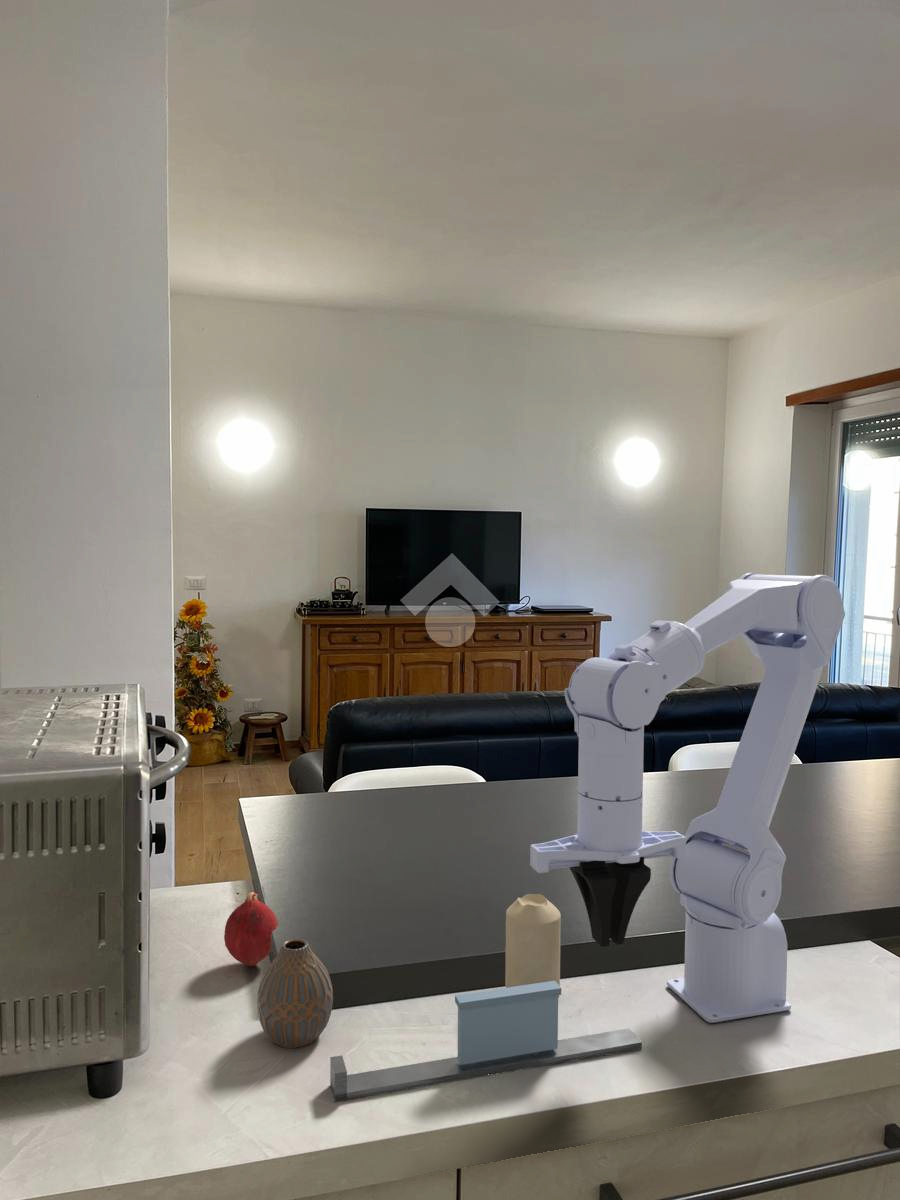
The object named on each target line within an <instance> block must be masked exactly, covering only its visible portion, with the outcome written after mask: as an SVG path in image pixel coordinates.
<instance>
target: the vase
mask: <svg viewBox="0 0 900 1200" xmlns="http://www.w3.org/2000/svg"><path fill="white" fill-rule="evenodd" d="M260 979H261V980H260V982H259V985H258V991H257V998H256V999H257V1000H256V1005H257V1007H256V1008H257V1015H258V1019H259V1020H258V1021H259V1022H260V1026H261V1028H262V1030H263V1031H264V1034H265V1035H266V1036H267V1037H268V1038H269V1039H270V1040H271V1041H272V1042H273V1043H275V1044H276V1045H278V1046H280V1047H283V1048H288V1049H289V1048H290V1049H295V1048H302V1047H305V1046H307V1045H310V1044H311V1043H313V1042H314V1041H315V1040H317V1038H318V1037H320V1036H321V1034H322V1033H323V1032H324V1031H325V1029H326V1028H327V1025H328V1023H329V1022H330V1021H329V1020H330V1018H331V1014H332V1011H333V1005H334V1004H333V1002H334V994H333V993H334V991H333V984H332V981H331V978H330V974H329V971H328V969H327V968H326V966H325V964H323V962H322V961H321V960H320V958H319V957H318V956H317V955H316V954H315V953H314V952H313V950H312V949H311V946H310V944H309V942H308V941H307V940H306V939H303V938H293V939H287V940H285V941H284V942H283V943H282V945H281V946H280V949H279V952H278V953H277V954H276V956H275V957H274V959H273V960H272V961H271V962H270V964H269V965H268V966H267V968H266V969H265V970H264V973H263V975H262V976H261V978H260Z"/></svg>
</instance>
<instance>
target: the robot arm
mask: <svg viewBox="0 0 900 1200" xmlns="http://www.w3.org/2000/svg"><path fill="white" fill-rule="evenodd" d="M842 598H843V597H842V594H841V591H840V589H839V587H838V585H837V583H836V581H835V580H834V579H833V578H832V577H831V576H828V575H827V574H816V575H793V574H791V575H790V574H789V575H786V574H785V575H784V574H783V575H782V574H760V573H757V572H747V573H744V574H743V575H741V576H740V577H739V578H737V579H734V580H732V581H730V582H729V583H728V585H727V590H726V592H725V593H724V594H722V596H720V597H718V598H717V599H715V600H714V601H713V602H712V603H710V604H709V605H707V606H706V607H705V608H704V609H702V610H701V611H700V612H698V613H697V614H696V615H694V616H693V617H691V618H690V619H689V620H687V621H686V622H685V623H681V622H679V621H675V620H659V619H658V620H654V622H652V623H650V624H649V630H648V632H645V634H642V635H641V636H639V637H638V638H636V639H634V640H632V641H631V642H629V643H627V644H626V643H622V644H619V645H617V646H616V647H615V649H614V652H612V653H611V654H610V655H609V656H608V657H607V658H606V657H605V658H603V657H596V656H595V657H590V658H588V659H585V661H583V662H582V663H581V664H580V665H579V666H577V667H576V668H575V670H574V671H573V672H572V674H571V677H570V680H569V683H568V687H567V688H566V687H565V688H564V697H565V702H566V706H567V708H568V709H569V711H570V712H571V714H572V716H573V718H574V719H573V720H574V732H575V733H576V735H577V737H578V759H577V760H578V766H577V767H578V768H577V770H578V772H577V773H578V774H577V780H578V781H577V790H578V791H577V833H576V834H574V835H570V836H566V837H562V838H558V839H553V840H550V841H546V842H541V843H540V842H539V843H534V844H529V845H530V847H529V848H530V849H529V851H530V855H529V856H530V858H529V866H530V867H532V869H533V870H534V871H535V872H537V873H538V874H545V873H549V872H550V870H554V869H562V868H565V869H566V868H569V870H570V871H571V873H572V876H573V878H574V879H575V882H576V884H577V886H578V889H579V891H580V895H581V897H582V899H583V902H584V905H585V909H586V912H587V916H588V921H589V925H590V931H591V937H592V939H593V940H594V941H595V942H596V943H597V944H598V945H599V946H600V947H609V946H610V941H611V940H612V942H613V943H614V944H615V945H618V946H619V945H624V944H625V939H626V934H627V931H628V926H629V924H630V920H631V917H632V915H633V912H634V910H635V907H636V905H637V902H638V901H639V899H640V897H641V895H642V893H643V892H644V890H645V888H646V887H647V885H648V884H649V883H650V881H651V877H652V869H651V867H649V866H648V865H646V864H645V860H649V859H650V860H651V859H659V858H668V857H670V859H669V866H668V876H669V881H670V884H671V887H672V888H673V890H675V892H677V893H678V894H679V895H680V897H679V900H680V901H679V904H680V905H681V906H682V907H684V908H685V922H684V923H685V928H684V930H685V934H684V935H685V936H684V937H685V939H684V977H677V978H672V979H671V978H670V979H668V980H667V981H666V986H668V987H669V989H670V990H672V991H673V992H674V993H675V994H676V996H678V997H680V998H681V1000H683V1001H684V1002H685V1003H686V1004H687V1005H688V1006H689V1008H691V1009H693V1011H695V1013H697V1014H698V1015H699V1016H700V1017H701V1018H702V1019H703V1020H704V1021H705V1022H706V1023H711V1024H713V1023H714V1024H715V1023H720V1022H726V1021H732V1020H737V1019H744V1018H749V1017H755V1016H762V1015H767V1014H773V1013H779V1012H785V1011H786V1012H787V1011H790V1010H791V1009H792V1004H791V1003H790V1002H788V1001H787V977H788V976H787V971H788V941H787V939H788V938H787V934H786V932H785V931H786V930H785V928H784V925H783V923H782V921H781V919H780V918H779V916H778V915H777V914H776V913H775V911H776V909H777V907H778V905H779V903H780V900H781V897H782V889H783V888H782V877H783V870H784V867H785V863H786V861H787V856H786V854H785V852H784V851H783V849H782V847H781V845H780V844H779V843H778V841H777V839H776V838H775V837H774V835H773V834H772V832H771V830H770V825H771V823H772V819H773V817H774V814H775V812H776V809H777V805H778V801H779V799H780V797H781V793H782V791H783V787H784V785H785V782H786V778H787V776H788V773H789V770H790V767H791V765H792V762H793V758H794V755H795V752H796V750H797V746H798V744H799V740H800V738H801V735H802V733H803V732H802V731H803V729H804V725H805V724H806V719H807V717H808V715H809V712H810V709H811V706H812V703H813V700H814V697H815V694H816V691H817V688H818V685H819V683H820V679H821V676H822V672H823V668H824V667H825V666H826V665H828V664H829V663H830V660H831V658H832V654H833V652H834V649H835V646H836V643H837V639H838V637H839V634H840V631H841V628H842V625H843V622H844V619H845V616H846V612H845V607H844V604H843V603H844V602H843V599H842ZM739 636H742V638H743V639H744V641H745V643H746V645H747V646H748V648H749V650H750V651H751V653H752V654H753V656H755V657H756V658H758V659H759V660H760V661H761V662H762V665H763V667H764V673H763V676H762V678H761V681H760V684H759V687H758V689H757V692H756V696H755V698H754V701H753V704H752V706H751V710H750V713H749V715H748V718H747V720H746V724H745V726H744V729H743V732H742V735H741V737H740V740H739V742H738V746H737V747H736V748H737V749H736V751H735V755H734V756H733V760H732V762H731V765H730V769H729V771H728V773H727V777H726V779H725V783H724V785H723V788H722V790H721V793H720V796H719V799H718V802H717V805H716V807H715V808H713V809H712V810H710V811H708V812H706V813H704V814H701V815H699V816H697V817H694V818H693V819H691V821H690V823H689V825H688V828H687V831H686V832H685V834H684V835H683V834H681V833H679V832H678V831H676V830H670V831H669V830H667V831H666V830H665V831H654V830H653V831H650V830H649V831H648V830H644V831H643V804H644V803H643V799H644V798H643V797H644V795H643V794H644V793H643V792H644V753H645V752H644V751H645V750H644V744H645V743H644V742H645V740H644V739H645V733H644V732H645V726H648V725H650V723H651V722H652V721H653V720H654V718H655V716H656V714H657V713H658V710H659V707H660V704H661V702H663V701H664V700H666V696H667V695H668V694H670V693H672V692H673V691H675V690H676V689H677V688H679V687H681V686H682V685H684V684H685V683H687V682H688V681H689V680H691V679H692V678H694V677H695V676H697V675H698V674H699V673H700V672H701V671H702V670H703V668H704V667H705V662H706V655H707V654H708V653H711V652H712V651H714V650H715V649H718V648H719V647H721V646H723V645H725V644H727V643H728V642H730V641H732V640H734V639H736V638H738V637H739ZM725 845H730V846H733V847H736V848H739V849H742V850H744V851H748V853H745V852H742V851H740V850H736V849H735V848H731V847H729V846H725Z"/></svg>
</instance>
